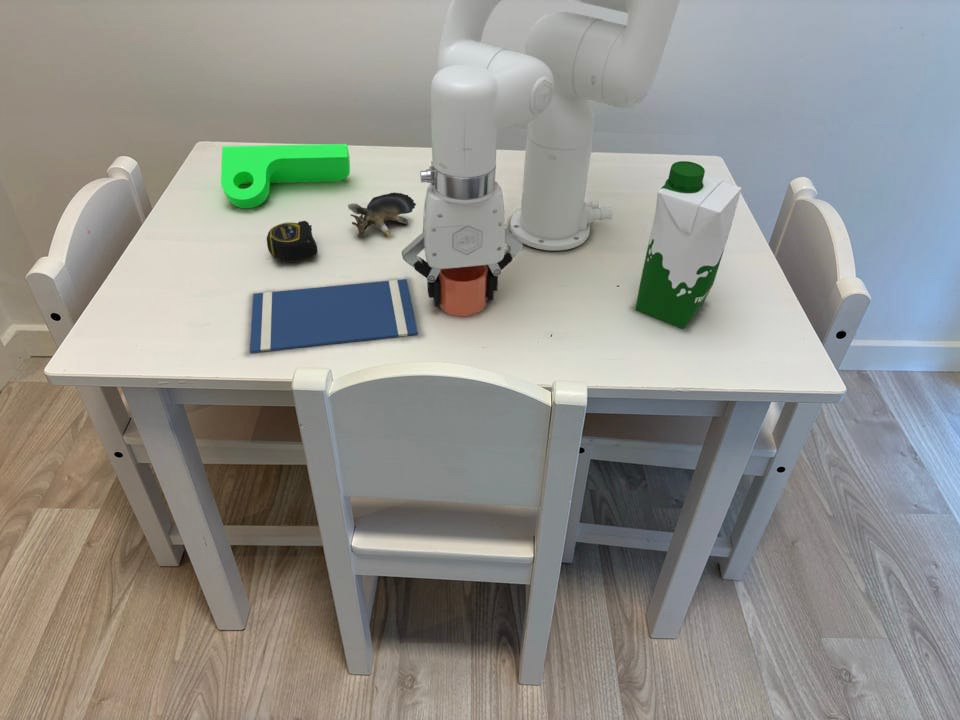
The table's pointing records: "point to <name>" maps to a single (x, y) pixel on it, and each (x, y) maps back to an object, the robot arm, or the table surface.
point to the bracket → (278, 168)
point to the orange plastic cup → (463, 290)
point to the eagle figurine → (382, 211)
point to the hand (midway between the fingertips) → (462, 296)
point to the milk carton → (685, 243)
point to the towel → (331, 315)
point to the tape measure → (291, 242)
